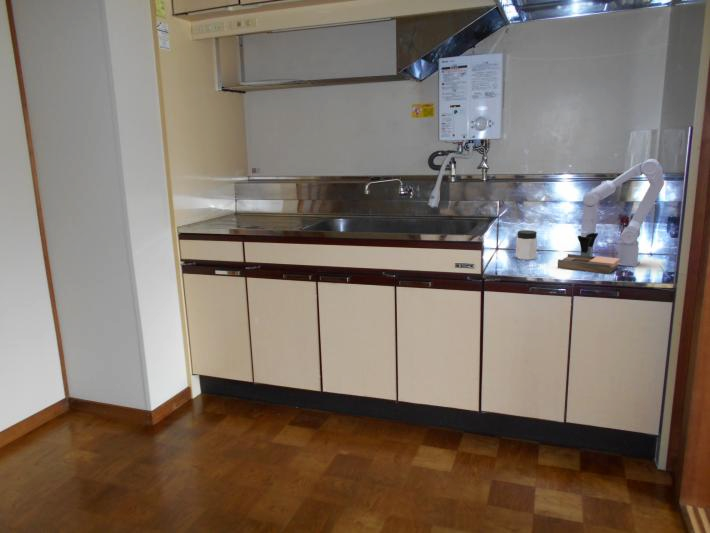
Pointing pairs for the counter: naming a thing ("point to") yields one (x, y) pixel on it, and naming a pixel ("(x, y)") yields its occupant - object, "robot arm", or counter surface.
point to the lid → (605, 261)
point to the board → (584, 264)
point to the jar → (526, 245)
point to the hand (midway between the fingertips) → (586, 250)
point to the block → (588, 252)
